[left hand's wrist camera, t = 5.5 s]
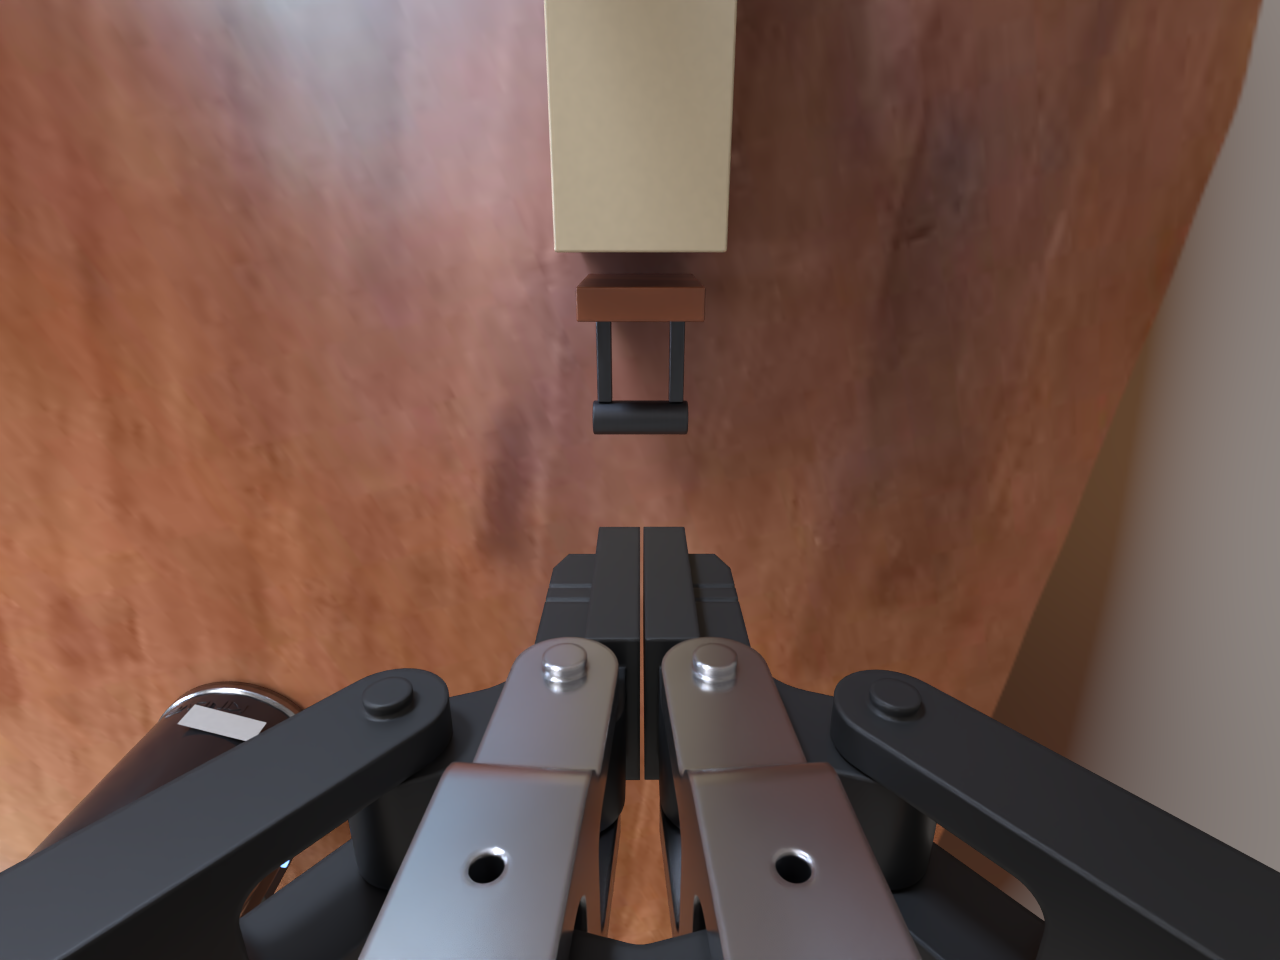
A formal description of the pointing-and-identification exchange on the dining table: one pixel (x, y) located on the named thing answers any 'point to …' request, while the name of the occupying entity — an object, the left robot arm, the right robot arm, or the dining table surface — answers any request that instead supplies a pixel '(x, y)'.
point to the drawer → (640, 303)
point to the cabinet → (640, 123)
